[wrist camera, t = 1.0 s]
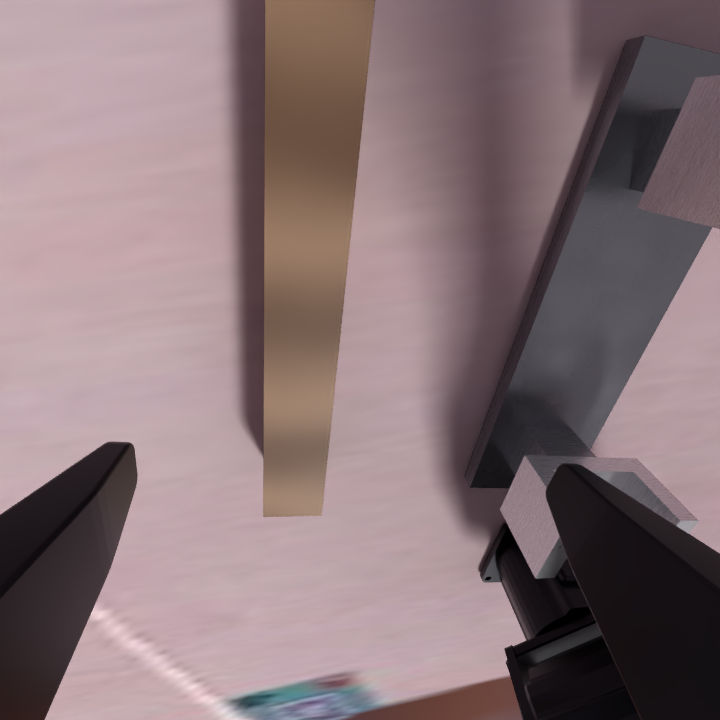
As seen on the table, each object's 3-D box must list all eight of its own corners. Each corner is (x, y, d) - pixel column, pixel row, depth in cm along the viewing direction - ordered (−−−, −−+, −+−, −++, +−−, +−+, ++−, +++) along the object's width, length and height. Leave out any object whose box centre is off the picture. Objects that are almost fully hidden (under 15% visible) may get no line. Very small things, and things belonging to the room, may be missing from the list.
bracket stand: (560, 477, 28) (644, 592, 21) (464, 475, 27) (520, 597, 20) (771, 75, 17) (1089, 43, 10) (626, 40, 16) (877, -24, 9)
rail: (318, 462, 25) (321, 515, 22) (268, 461, 25) (263, 517, 21) (360, -5, 14) (379, -45, 11) (274, -21, 14) (265, -68, 11)
